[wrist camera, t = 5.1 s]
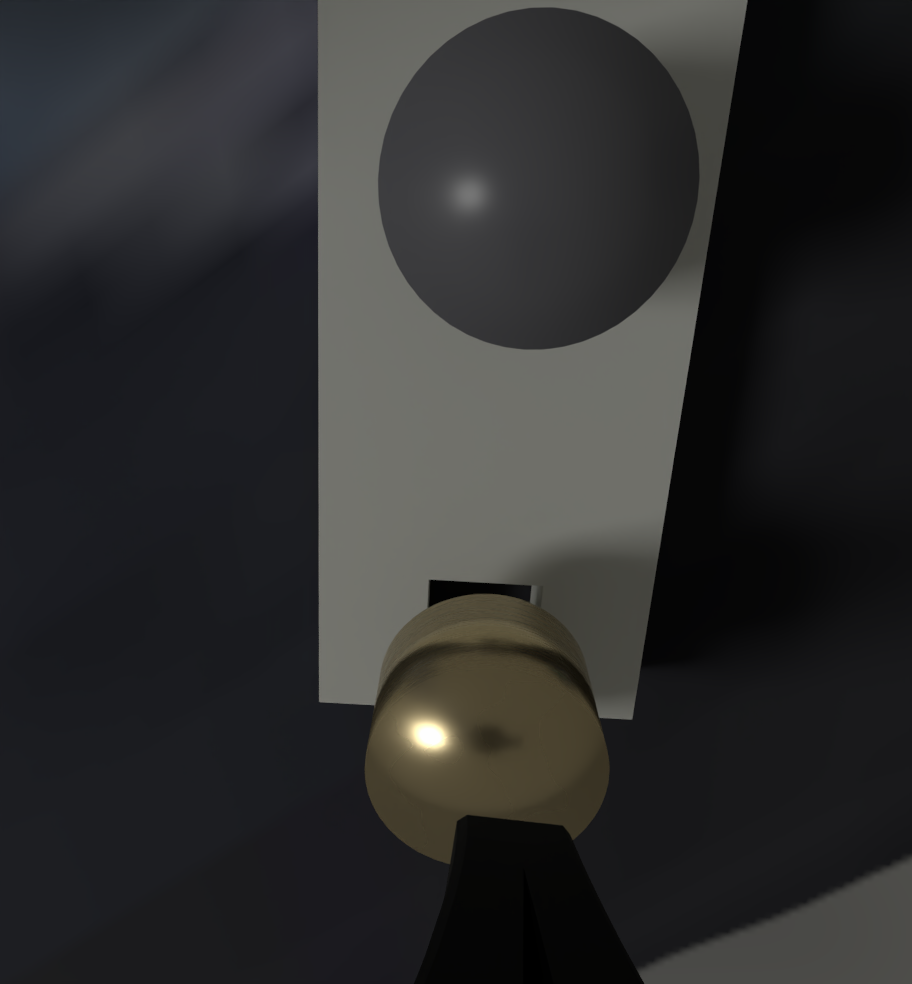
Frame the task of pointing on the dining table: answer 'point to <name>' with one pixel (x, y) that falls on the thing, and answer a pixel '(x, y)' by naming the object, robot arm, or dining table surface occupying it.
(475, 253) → the graphite knob
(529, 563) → the mount board
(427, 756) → the brass knob
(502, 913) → the robot arm
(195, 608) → the dining table surface
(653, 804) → the dining table surface
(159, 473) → the dining table surface
